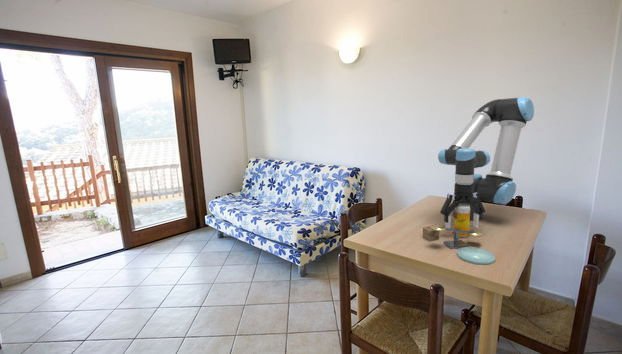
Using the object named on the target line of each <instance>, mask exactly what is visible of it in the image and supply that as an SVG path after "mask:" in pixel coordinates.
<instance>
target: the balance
mask: <svg viewBox="0 0 622 354" xmlns="http://www.w3.org/2000/svg"><path fill="white" fill-rule="evenodd" d="M430 226H431V229H432V230H434V231H439V232H445V231H447V232H452V234H453V240H443V245H445V246H446V247H447V248H448V249H449V250H456V249H457V250H458V249H460V248H463V247H470V246H469V244H468V243H466V242H465V241H463V240H462V239H459V237H458V236H459V232H461V233H467V234H468V236H471V237H475V238H476V237H482V236H483V234H484V233H483V231H480V230H477V229H469V230H468V231H464V230H458V229H455V228H454V227H453V228H451V227H450V228H446V226H444V225H441V224H433V225H430Z"/></svg>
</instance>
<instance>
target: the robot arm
mask: <svg viewBox="0 0 622 354" xmlns="http://www.w3.org/2000/svg"><path fill="white" fill-rule="evenodd" d="M534 116H535V107H534V103H533V101H532V99H531V98H530V97H526V96H525V97H520V96H518V97H512V98H510V97H509V98H502V99H501V98H499V99H493V100H491V101H489V102H487V103H485V104H483V105H482V106H480V107H479V108H478V109H477V110H476V111H475V112H474V113H473V114H472V118H471V120H470V122H469V123H468V124H467V125H466V127H464V128H463V130H462V131H461V132H460V134H459V135H458V136H457V137H456V139H455V140H454V141H453V142H452V144H451V145H450V146H449V147H448V148H446V149H445V148H444V149H440V151H439V153H438V155H437V159H438V162H439V163H440V164H442V165H447V166H455V173H454V182H455V183H454V187H453V188H454V193H453V194H452V193H451V194H450V193H447V195H446V199H445V202H444V203H443V205H442V207H441V209H440V211H439V214H441V215H443V221H444V222H443V223H445V227H446V228H450V229H451V214H452V216H453V217H455V207H456V206H457V205H459V204H460V203H461V204H463V203H465V204H469V206H470V221H473V222H472V227H474V228H476V229H478V228H479V221H481V220H482V219H483V218H484V214H485V212H486V210H485V208H484V205H483V203H482V201H483V202H489V203H495V204H501V205H506V204H508V203H510V201H512V200H513V198H514V196H515V195H516V190H517V185H516V183H515V182H514V181H513V180H514V178H513V177H512V175H511V174H512V169H513V165H514V160H515V156H516V151H517V148H518V143H519V140H520V135H521V131H522V129H523V128H524V127H526V126H527V122H530V121H532V120H533V118H534ZM495 122H496V123H498V125H499V126H500V131H499V134H498V135H499V136H498V138H497V143H496V146H495V151H494V155H493V159H492V160H493V161H492V163H491V168H490V172H488V173H486V174H485V177H483V175H482V174H480V173H475V169H478V168H483V167H485V166H487V165H488V164H490V161H491V155H490V154H489V152H488V151H486V150H475V149H474V148H470V147H471V146H472V144H473V143H474V142H475V141H476V140H477V138H478V137H479V136H480V134H481V133H482V132H483V130H485V128H486V127H488V126H490V125H491V124H492V123H495Z"/></svg>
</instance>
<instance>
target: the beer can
mask: <svg viewBox="0 0 622 354" xmlns="http://www.w3.org/2000/svg"><path fill="white" fill-rule="evenodd" d="M470 221H471V220H470V206H469V204H465V203H463V204H461V203H460V204H459V205H457V206H456V207H455V216H454V226H453V228H455V229H458V230H464V231H468V230H470ZM467 237H469V235H468V234H467V233H461V232H459V236H458V238H463V239H465V238H467Z"/></svg>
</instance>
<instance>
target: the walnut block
mask: <svg viewBox="0 0 622 354" xmlns="http://www.w3.org/2000/svg"><path fill="white" fill-rule="evenodd" d="M431 226H432V225H430V226H424V227H422V238H423V239H424V240H427V241H429V242H433V241H439V240H440V231H434V230H432V229H431Z"/></svg>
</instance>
